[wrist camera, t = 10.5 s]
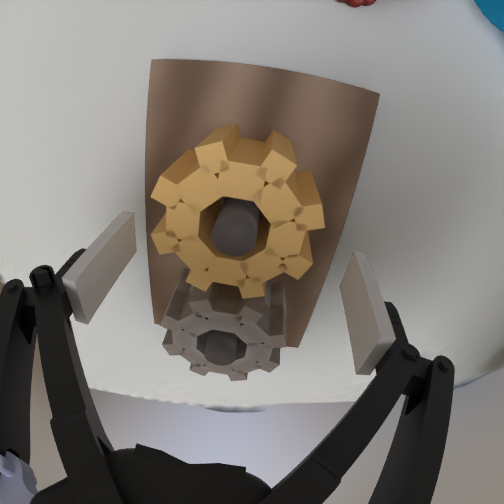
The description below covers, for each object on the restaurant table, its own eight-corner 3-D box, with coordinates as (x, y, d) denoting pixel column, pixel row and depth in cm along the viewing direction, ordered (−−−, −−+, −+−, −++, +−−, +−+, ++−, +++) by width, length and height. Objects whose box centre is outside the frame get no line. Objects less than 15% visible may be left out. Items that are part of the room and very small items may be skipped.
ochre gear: (325, 141, 19) (343, 165, 14) (294, 257, 25) (297, 307, 20) (184, 116, 19) (152, 133, 14) (176, 236, 24) (152, 281, 19)
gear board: (371, 92, 18) (425, 105, 11) (297, 334, 33) (299, 402, 25) (161, 60, 18) (99, 57, 11) (159, 311, 33) (134, 374, 25)
